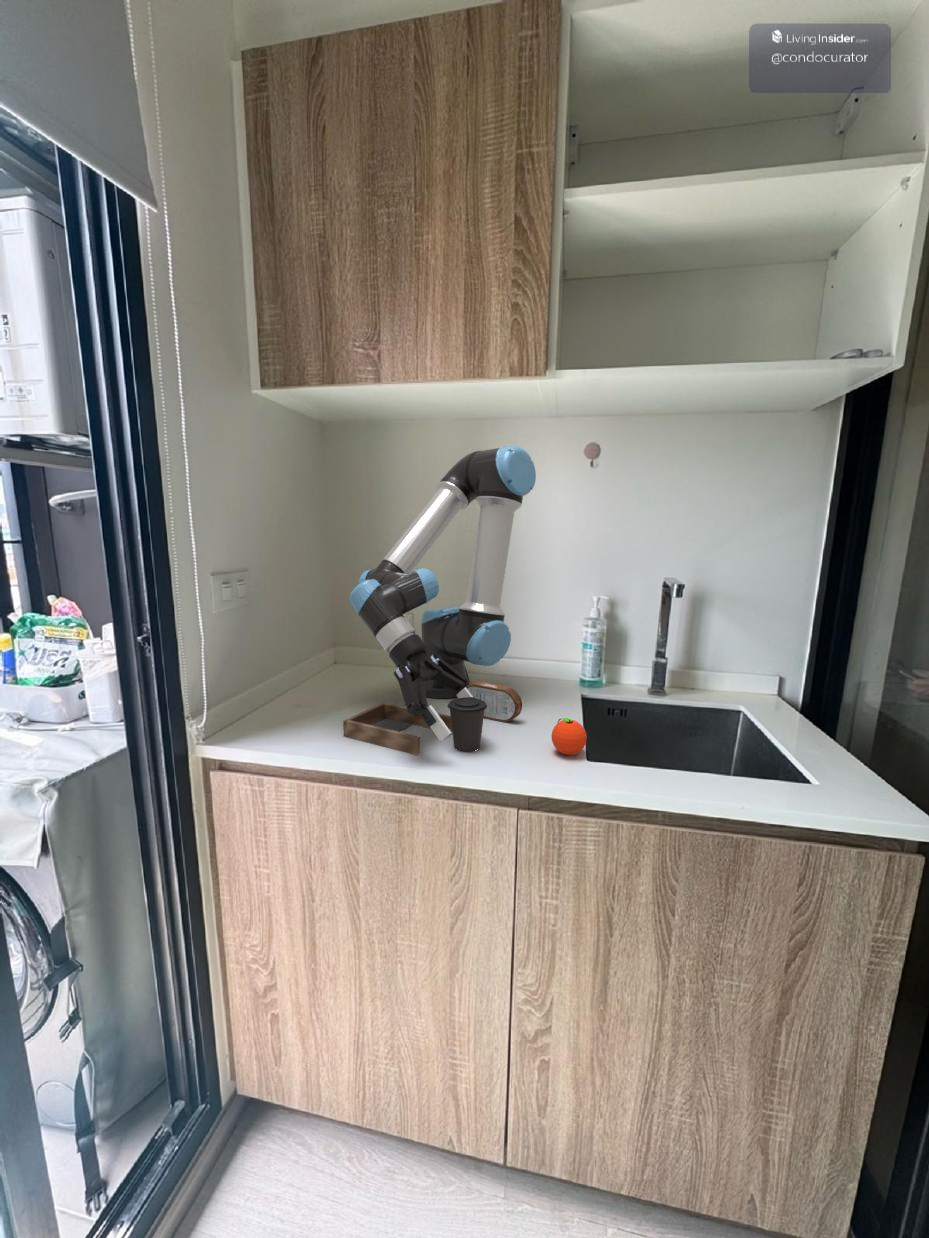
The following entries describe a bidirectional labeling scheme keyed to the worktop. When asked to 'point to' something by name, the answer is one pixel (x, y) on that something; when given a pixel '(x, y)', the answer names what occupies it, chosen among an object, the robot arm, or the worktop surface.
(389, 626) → the robot arm
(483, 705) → the coffee cup
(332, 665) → the worktop surface
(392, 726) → the pad
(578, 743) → the clementine
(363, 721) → the channel
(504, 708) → the tin
